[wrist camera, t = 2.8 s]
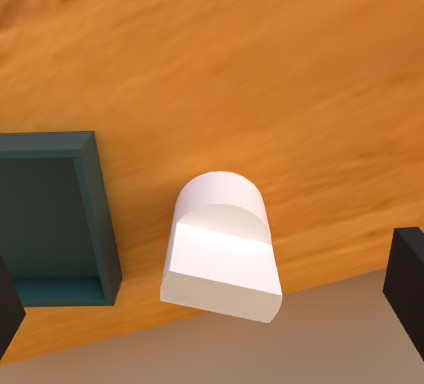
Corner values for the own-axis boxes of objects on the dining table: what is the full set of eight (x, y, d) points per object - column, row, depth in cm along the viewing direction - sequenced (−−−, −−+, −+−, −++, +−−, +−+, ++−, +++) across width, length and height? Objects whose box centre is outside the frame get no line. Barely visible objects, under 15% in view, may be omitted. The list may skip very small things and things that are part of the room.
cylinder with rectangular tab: (166, 235, 40) (148, 327, 29) (187, 160, 35) (174, 236, 25) (248, 254, 41) (259, 349, 30) (277, 184, 37) (301, 265, 26)
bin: (122, 278, 43) (113, 305, 39) (-31, 281, 43) (-53, 308, 40) (93, 130, 34) (79, 148, 31) (-97, 135, 35) (-133, 153, 31)
